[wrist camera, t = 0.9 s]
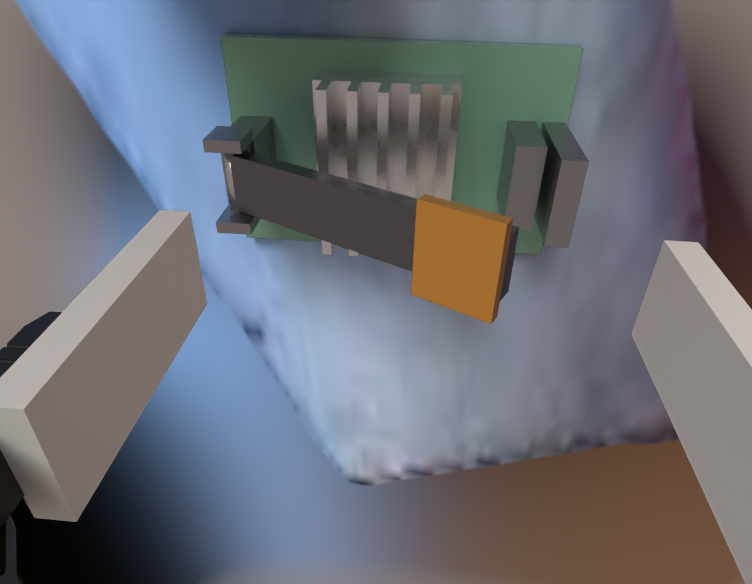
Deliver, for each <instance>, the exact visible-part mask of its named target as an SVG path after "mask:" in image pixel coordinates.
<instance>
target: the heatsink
mask: <svg viewBox="0 0 752 584" xmlns="http://www.w3.org/2000/svg"><path fill="white" fill-rule="evenodd" d="M312 85H313V107H314V128H315V149H316V170H317V171H320V172H324V173H327V174H331V175H334V176H338V177H341V178H345V179H349V180H352V181H356V182H359V183H363V184H367V185H370V186H374V187H377V188H381V189H384V190H388V191H392V192H395V193H399V194H402V195H406V196H410V197H413V198H417V199H418V198H419V197H421V196H422V195H424V194H427V195H430V196H434V197H438V198H441V199H445V200H449V201H451V195H452V185H453V174H454V164H455V154H456V143H457V133H458V123H459V112H460V102H461V92H462V81H461V75H443V74H416V73H389V72H362V71H335V70H320V71H319V72H318V73H317V75H316V76H315V77H314V78H313V80H312ZM334 245H335V244H332V243H329V242H326V241H323V240H322V254H328V255H332V252H333V249H334ZM358 254H359V253H358V252H355V251H352V250H349V256H358Z"/></svg>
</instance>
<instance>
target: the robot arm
mask: <svg viewBox="0 0 752 584" xmlns="http://www.w3.org/2000/svg"><path fill="white" fill-rule="evenodd" d="M206 305H207V301H206V295H205V290H204V284H203V278H202V273H201V267H200V262H199V257H198V251H197V246H196V240H195V235H194V229H193V224H192V218H191V213H190V212H185V211H168V210H159V212H158V213H157V214H156V215H155V216H154V217H153V218H152V219H151V220H150V221H149V222H148V223H147V224H146V225H145V226H144V227H143V228H142V229H141V230H140V232H139V233H138V234H137V235H136V236H135V237H134V238H133V239H132V240H131V241H130V242H129V243H128V244H127V245H126V246H125V247H124V249H122V250H121V251H120V253H119V254H118V255H117V256H116V257H115V258H114V259H113V260H112V261H111V262H110V263H109V264H108V265H107V266H106V268H104V269H103V270H102V271H101V272H100V274H99V275H98V276H97V277H96V278H95V279H94V280H93V281H92V282H91V283H90V284H89V285H88V286H87V287H86V288H85V289H84V290H83V291H82V292H81V293H80V295H79V296H78V297H77V298H76V299H75V300H74V301H73V302H72V303H71V304H70V305H69V306H68V307H67V308H66V309H65V310H64V311H63V312H48V313H46V314H45V315H43V316H41V317H40V318H38V319H36V320H35V321H33V322H31V323H29V324H28V325H26V326H24V327H23V328H22V329H21V330H20V331H19V332H18V333H17V334H16V335H15V336H14V337H13V338H12V339H11V340H10V341H9V342H8V343H7V347H3V348H2V349H1V350H0V584H16V529H15V526H14V523H13V520H12V518H11V517H10V514H11V513H12V512H13V510H14V509H15V508H16V506H17V505H18V503H19V502H20V500H21V499H22V498H23V497H24V499H25V501H26V503H27V505H28V506H29V508H30V510H31V512H32V514H33V516H34V517H35V518H43V519H53V520H63V521H73V522H76V521H77V520H78V518H79V516H80V515H81V513H82V511H83V510H84V508H85V506H86V505H87V503H88V501H89V500H90V498H91V496H92V495H93V493H94V491H95V490H96V488H97V486H98V485H99V483H100V481H101V480H102V478H103V476H104V475H105V473H106V471H107V470H108V468H109V466H110V465H111V463H112V461H113V460H114V458H115V456H116V455H117V453H118V451H119V450H120V448H121V446H122V445H123V443H124V442H125V440H126V438H127V436H128V435H129V433H130V432H131V430H132V428H133V426H134V425H135V423H136V421H137V420H138V418H139V416H140V415H141V413H142V412H143V410H144V408H145V407H146V404H147V403H148V401H149V400H150V398H151V397H152V394H153V393H154V391H155V390H156V388H157V386H158V385H159V383H160V381H161V380H162V378H163V377H164V375H165V373H166V372H167V370H168V368H169V366H170V365H171V363H172V362H173V360H174V358H175V357H176V355H177V353H178V351H179V350H180V348H181V347H182V345H183V343H184V342H185V340H186V338H187V337H188V335H189V333H190V331H191V330H192V328H193V327H194V325H195V323H196V322H197V320H198V318H199V316H200V315H201V313H202V312H203V310H204V308H205V307H206ZM632 337H633V339H634V341H635V343H636V345H637V348H638V350H639V352H640V354H641V356H642V358H643V361H644V363H645V365H646V367H647V369H648V372H649V374H650V376H651V378H652V380H653V382H654V385H655V387H656V389H657V391H658V393H659V396H660V398H661V400H662V402H663V404H664V407H665V409H666V411H667V413H668V415H669V417H670V420H671V422H672V424H673V426H674V428H675V431H676V433H677V435H678V437H679V439H680V441H681V444H682V446H683V448H684V450H685V452H686V455H687V457H688V459H689V461H690V463H691V465H692V468H693V470H694V472H695V474H696V476H697V479H698V481H699V483H700V485H701V487H702V489H703V492H704V494H705V496H706V498H707V500H708V503H709V505H710V507H711V509H712V511H713V513H714V515H715V518H716V520H717V522H718V524H719V527H720V529H721V531H722V533H723V535H724V538H725V540H726V542H727V544H728V546H729V548H730V550H731V553H732V555H733V557H734V559H735V562H736V564H737V566H738V568H739V570H740V572H741V575H742V577H743V579H744V581H745V583H746V584H752V310H751V308H750V307H749V306H748V305H747V303H746V302H745V301H744V299H743V298H742V297H741V296H740V294H739V293H738V292H737V291H736V289H735V288H734V287H733V286H732V284H731V283H730V282H729V281H728V279H727V278H726V277H725V276H724V274H723V273H722V272H721V270H720V269H719V268H718V267H717V265H716V264H715V263H714V262H713V260H712V259H711V258H710V257H709V255H708V254H707V253H706V251H705V250H704V249H703V248H702V246H701V245H700V244H699V243H698V242H683V241H666V240H664V242H663V245H662V248H661V251H660V254H659V256H658V259H657V262H656V265H655V268H654V271H653V274H652V276H651V279H650V282H649V285H648V288H647V291H646V294H645V297H644V299H643V302H642V305H641V308H640V311H639V314H638V317H637V319H636V322H635V325H634V328H633V331H632Z"/></svg>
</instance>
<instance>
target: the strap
mask: <svg viewBox="0 0 752 584" xmlns="http://www.w3.org/2000/svg"><path fill="white" fill-rule="evenodd" d="M222 160H223V167H224V174H225V181H226V188H227V195H228V202H229V209H230V210H231V211H235V212H243V213H246V214H249V215H252V216H255V217H257V218H260V219H263V220H266V221H269V222H272V223H275V224H278V225H280V226H283V227H286V228H289V229H292V230H295V231H298V232H301V233H303V234H306V235H309V236H312V237H315V238H318V239H321V240H323V241H326V242H329V243H332V244H335V245H338V246H341V247H344V248H346V249H349V250H352V251H355V252H358V253H361V254H364V255H367V256H369V257H372V258H375V259H378V260H381V261H384V262H387V263H390V264H392V265H395V266H398V267H401V268H404V269H407V270H410V271H413V273H412V289H411V295H414V296H417V297H420V298H422V299H425V300H428V301H430V302H433V303H436V304H439V305H441V306H444V307H447V308H449V309H452V310H455V311H457V312H460V313H463V314H466V315H468V316H471V317H474V318H476V319H479V320H482V321H484V322H487V323H490V324H491V323H492V322H493V321H494V320H495V318H496V317H497V314H498V308H499V302H500V301H501V299H502V298H503V297H504V296H505V295H506V293H507V292H508V289H509V283H510V278H511V272H512V266H513V261H514V255H515V249H516V244H517V238H518V232H519V227H517V226H513V225H512V224H513V218H511V217H507V216H504V215H500V214H496V213H493V212H489V211H485V210H482V209H478V208H474V207H471V206H467V205H463V204H460V203H456V202H452V201H449V200H445V199H441V198H438V197H434V196H430V195H427V194H424V195H422V196H421V197H419V198H418V199H417V198H413V197H410V196H406V195H402V194H399V193H395V192H392V191H388V190H384V189H381V188H377V187H374V186H370V185H367V184H363V183H359V182H356V181H352V180H349V179H345V178H341V177H338V176H334V175H331V174H327V173H324V172H320V171H316V170H313V169H309V168H306V167H302V166H298V165H295V164H291V163H288V162H284V161H281V160H277V159H273V158H270V157H266V156H263V155H259V154H255V153H252V152H248V151H245V150H244V151H243V152H242V154H235V153H222Z"/></svg>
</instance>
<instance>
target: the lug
mask: <svg viewBox="0 0 752 584" xmlns="http://www.w3.org/2000/svg"><path fill="white" fill-rule="evenodd" d="M588 163H589V161H588V159H587V158H586V156H585V155H584V153H583V151H582V150H581V148H580V146H579V145H578V143H577V141H576V140H575V138H574V136H573V135H572V133H571V132H570V130H569V128H568V127H567V125H566V123H563V122H542V127H541V132H540V130H539V128H538V125H537V123H536V121H516V120H508V121H507V128H506V135H505V142H504V149H503V156H502V163H501V169H500V176H499V183H498V190H497V201H498V206H499V211H500V215H504V216H507V217H511V218H513V224H512V225H513V226H517V227H519V230H529V231H532V228H533V223H534V218H535V219H536V222H537V226H538V229H539V232H540V235H541V238H542V241H543V245H544V246H547V247H564V248H568V247H569V243H570V239H571V235H572V230H573V226H574V222H575V218H576V213H577V209H578V205H579V201H580V197H581V192H582V188H583V184H584V180H585V175H586V171H587V167H588Z"/></svg>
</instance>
